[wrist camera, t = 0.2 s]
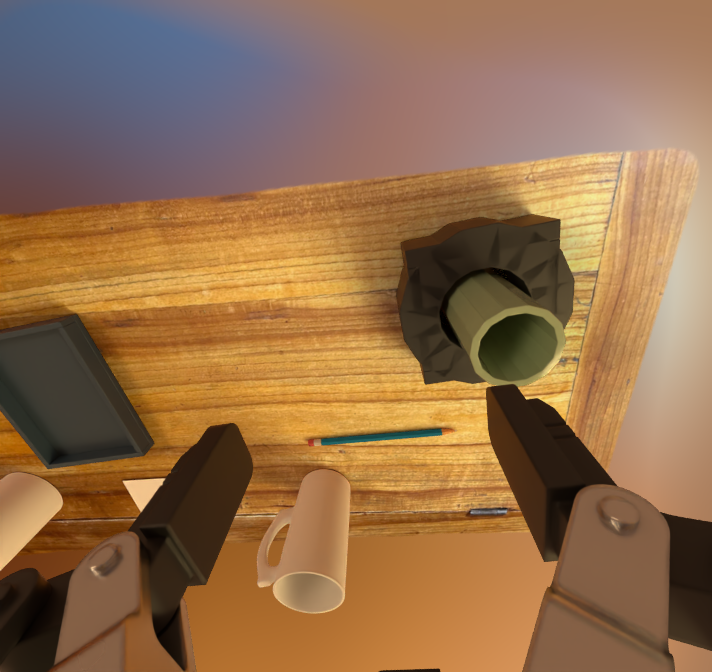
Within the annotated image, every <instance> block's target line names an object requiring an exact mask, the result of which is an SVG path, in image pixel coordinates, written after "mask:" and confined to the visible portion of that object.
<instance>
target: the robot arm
mask: <svg viewBox="0 0 712 672" xmlns="http://www.w3.org/2000/svg"><path fill="white" fill-rule="evenodd" d="M486 400H487V417H488V430H489V436H490V440H491V444H492V447H493V449H494V452H495V454H496V456H497V458H498V460H499V463H500V465H501V467H502V469H503V472H504V474H505V476H506V478H507V480H508V483H509V485H510V487H511V489H512V492H513V494H514V496H515V498H516V500H517V503H518V505H519V507H520V509H521V511H522V514H523V516H524V518H525V520H526V523H527V525H528V527H529V529H530V531H531V534H532V536H533V538H534V540H535V542H536V545H537V547H538V549H539V551H540V554H541V556H542V558H543V560H544V562H549V561H558V563H557V566H556V570H555V574H554V578H553V581H552V584H551V586H550V587H548V588H547V589H546V591H545V594H544V597H543V600H542V603H541V607H540V610H539V614H538V618H537V621H536V624H535V628H534V632H533V635H532V639H531V642H530V646H529V649H528V653H527V657H526V660H525V664H524V667H523V671H522V672H675V666H674V659H673V656H672V654H670V653H669V648H668V638H670V639H673V640H676V641H680V642H683V643H687V644H691V645H693V646H697V647H700V648H704V649H707V650H710V651H712V522H707V521H701V520H695V519H689V518H684V517H678V516H673V515H669V514H665V513H662V512H659V511H658V509H656V508H655V507H654V506H653V505H652V504H651V503H650V502H648V501H647V500H646V499H644V498H642V497H641V496H639V495H637V494H635V493H633V492H631V491H629V490H626V489H624V488H620V487H618V486H617V485H616V484H615V483H614V481H613V480H612V479H611V478H610V476H609V475H608V474H607V473H606V471H605V470H604V469H603V468H602V466H601V465H600V464H599V463H598V462H597V460H596V459H595V458H594V457H593V455H592V454H591V453H590V452H589V450H588V449H587V448H586V447H585V445H584V444H583V443H582V442H581V440H580V439H579V438H578V437H576V436H575V433H574V432H573V431H572V429H571V428H570V427H569V426H568V425H566V422H565V421H564V419H563V418H562V417H561V416H560V415H559V413H558V412H557V411H556V410H555V408H553V407H551V406H550V405H548V404H546V403H545V402H543V401H541V400H540V399H538V398H535V399H528V400H526V399H525V397H524V396H523V395H522V393H521V392H520V390H519V389H518V388H517V386H516V385H515V384H507V385H500V386H493V387H487V389H486ZM252 472H253V462H252V458H251V455H250V453H249V451H248V448H247V446H246V444H245V442H244V440H243V437H242V435H241V433H240V431H239V428H238V427H237V425H236V424H234V423H229V424H222V425H215V426H210V427H209V428H208V429H207V430H206V431H205V433H204V434H203V436H202V437H201V438H200V440H199V441H198V443H197V444H195V445H194V446H192V447H191V448H190V449H189V450H188V451H187V452H186V453H185V454H183V455H182V456H181V457H180V459H179V460H178V462H177V463H176V464H175V466H174V467H173V469H172V470H171V473H169V474H168V476H167V477H166V478H165V480H164V481H163V485H160V487H159V488H158V490H157V491H156V492H155V494H154V495H153V497H152V498H151V499H150V501H149V502H148V504H147V505H146V506H145V508H144V509H143V510H142V512H141V513H140V515H139V516H138V517H137V519H136V520H135V522H134V523H133V524H132V526H131V527H130V529H129V530H128V531H127V532H122V533H118V534H116V535H113V536H111V537H109V538H107V539H106V540H104V541H103V542H101V543H100V544H98V545H97V546H96V547H95V548H93V549H92V550H91V551H90V552H89V553H88V554H87V555H86V556H85V557H84V558H83V559H82V560H81V562H80V563H79V564H78V566H77V567H76V569H74V570H71V571H69V572H66V573H64V574H61V575H59V576H56V577H53V578H51V579H48V580H46V579H45V578H44V577H43V576H42V575H41V574H40V573H39V572H38V571H37V570H36V569H34V568H26V569H22V570H19V571H17V572H15V573H12V574H10V575H9V576H7V577H5V578H3V579H2V580H0V671H1V672H196V665H195V659H194V652H193V646H192V639H191V632H190V626H189V619H188V612H187V605H186V602H185V600H184V599H183V595H184V592H185V590H186V588H187V586H195V585H206V583H207V581H208V578H209V576H210V574H211V571H212V569H213V567H214V564H215V562H216V559H217V557H218V555H219V552H220V550H221V548H222V545H223V543H224V541H225V538H226V536H227V534H228V531H229V529H230V527H231V524H232V522H233V519H234V517H235V515H236V512H237V510H238V508H239V505H240V503H241V501H242V498H243V496H244V493H245V491H246V489H247V486H248V484H249V482H250V479H251V477H252ZM379 672H440V669H415V670H386V671H385V670H383V671H379Z"/></svg>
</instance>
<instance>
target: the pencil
mask: <svg viewBox="0 0 712 672" xmlns="http://www.w3.org/2000/svg"><path fill="white" fill-rule="evenodd" d="M455 431H457V430H452V429H429V430H418V431H406V432H394V433H383V434H371V435H359V436H348V437H336V438H324V439H313V440H309V441H308V445H309V446H320V445H332V444H344V443H356V442H368V441H380V440H392V439H404V438H416V437H428V436H440V435H445V434H448V433H452V432H455Z"/></svg>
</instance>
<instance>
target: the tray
mask: <svg viewBox="0 0 712 672" xmlns="http://www.w3.org/2000/svg"><path fill="white" fill-rule="evenodd" d="M0 411H1V412H2V413H3V414H4V416H5V417H6V418H7V419H8V421H9V422H10V423H11V424H12V426H13V427H14V428H15V429H16V431H17V432H18V433H19V434H20V435H21V437H22V438H23V439H24V440H25V442H26V443H27V444H28V445H29V447H30V448H31V449H32V450H33V452H34V453H35V454H36V455H37V457H38V458H39V459H40V460H41V462H42V463H43V464H44V465H45V466H46V468H47V469H52V468H60V467H67V466H74V465H82V464H89V463H96V462H104V461H111V460H118V459H126V458H133V457H140V456H144V455H145V454H146V453H147V452H148V451H149V449H150V448H151V447H152V446H153V445H154V441H153V440H152V438H151V436H150V435H149V433H148V431H147V430H146V428H145V426H144V425H143V423H142V421H141V420H140V418H139V416H138V415H137V413H136V411H135V410H134V408H133V406H132V405H131V403H130V402H129V400H128V398H127V397H126V395H125V393H124V392H123V390H122V388H121V387H120V385H119V383H118V382H117V380H116V378H115V377H114V375H113V373H112V372H111V370H110V368H109V367H108V365H107V363H106V362H105V360H104V358H103V357H102V355H101V353H100V352H99V350H98V348H97V347H96V345H95V343H94V342H93V340H92V338H91V337H90V335H89V333H88V332H87V330H86V328H85V327H84V325H83V323H82V322H81V320H80V318H79V317H78V315H77V314H75V315H70V316H65V317H60V318H56V319H51V320H46V321H41V322H36V323H32V324H27V325H22V326H17V327H12V328H8V329H3V330H0Z"/></svg>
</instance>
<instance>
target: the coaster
mask: <svg viewBox="0 0 712 672" xmlns="http://www.w3.org/2000/svg"><path fill="white" fill-rule="evenodd" d="M164 480H165V478H161V479H145V480H128V481H123V483H124V484H125V486H126V488H127V489H128V491H129V493H130V495H131V496H132V498H133V500H134V501H135V503H136V505H137V506H138V508H139V510H140V511H141V512H142V510H143V509H144V508H145V506H146V505H147V504H148V502H149V501H150V499H151V498H152V497H153V495H154V494H155V492H156V491H157V490H158V488H159V487H160V485H163V481H164Z"/></svg>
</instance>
